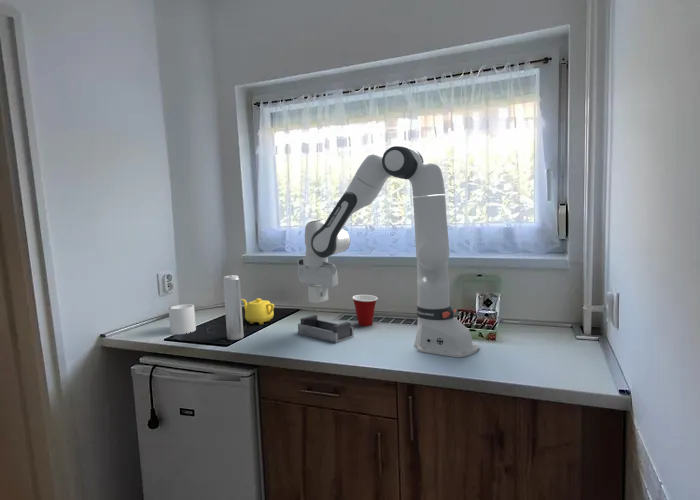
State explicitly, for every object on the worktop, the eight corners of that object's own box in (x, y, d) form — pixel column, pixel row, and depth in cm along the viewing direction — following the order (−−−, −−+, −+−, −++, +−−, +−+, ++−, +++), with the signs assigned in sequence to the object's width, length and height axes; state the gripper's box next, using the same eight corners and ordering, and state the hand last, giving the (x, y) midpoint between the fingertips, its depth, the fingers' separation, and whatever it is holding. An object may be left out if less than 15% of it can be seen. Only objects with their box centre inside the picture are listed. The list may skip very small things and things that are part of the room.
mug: (165, 329, 192) (163, 305, 191) (188, 324, 198) (186, 301, 197) (175, 335, 181) (173, 310, 180) (199, 330, 188) (197, 306, 187)
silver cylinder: (239, 340, 171) (235, 277, 169) (224, 339, 173) (219, 277, 170) (246, 335, 178) (242, 274, 175) (231, 335, 179) (227, 274, 177)
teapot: (234, 323, 197) (233, 300, 196) (250, 317, 207) (248, 295, 206) (268, 326, 190) (266, 302, 189) (282, 320, 200) (280, 297, 199)
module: (328, 300, 175) (327, 285, 175) (316, 302, 171) (315, 287, 170) (320, 298, 179) (320, 284, 178) (308, 301, 174) (308, 286, 173)
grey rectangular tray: (353, 336, 170) (353, 322, 169) (336, 343, 163) (335, 327, 162) (315, 327, 185) (315, 314, 184) (298, 333, 178) (297, 319, 177)
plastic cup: (374, 328, 180) (373, 299, 179) (349, 327, 184) (348, 299, 182) (381, 321, 190) (380, 294, 189) (358, 320, 194) (357, 293, 192)
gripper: (341, 262, 168) (342, 297, 170) (306, 258, 182) (307, 291, 184) (329, 264, 164) (330, 300, 165) (294, 260, 178) (296, 293, 179)
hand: (318, 295), depth 174 cm, fingers closed on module, 4 cm apart
